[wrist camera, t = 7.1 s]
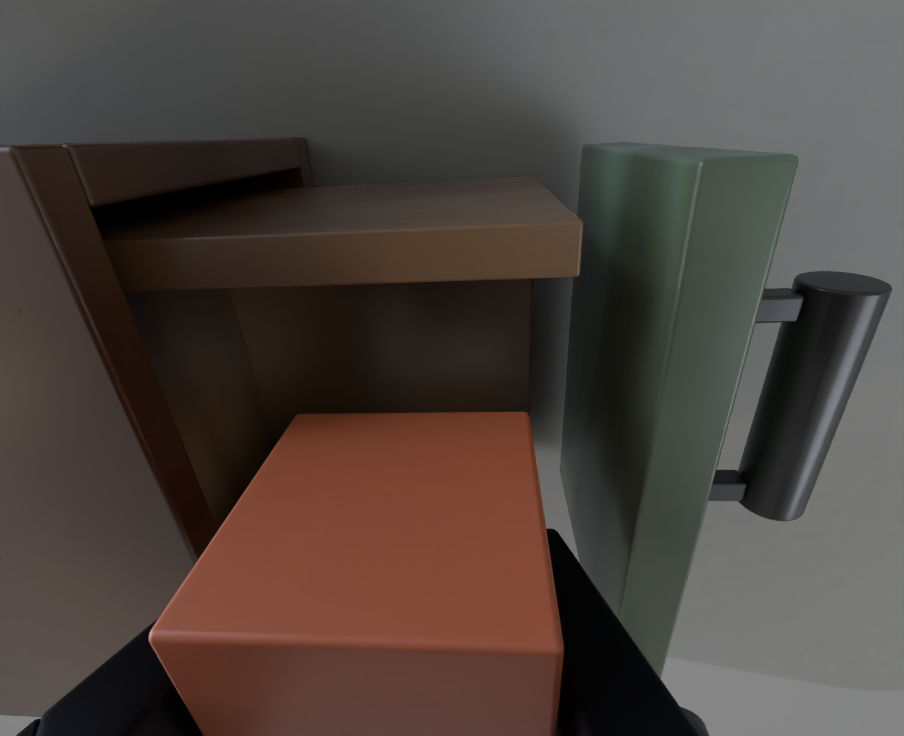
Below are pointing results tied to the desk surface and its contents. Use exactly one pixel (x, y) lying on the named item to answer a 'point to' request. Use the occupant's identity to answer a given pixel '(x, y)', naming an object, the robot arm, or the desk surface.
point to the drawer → (514, 335)
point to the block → (376, 587)
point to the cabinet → (93, 407)
